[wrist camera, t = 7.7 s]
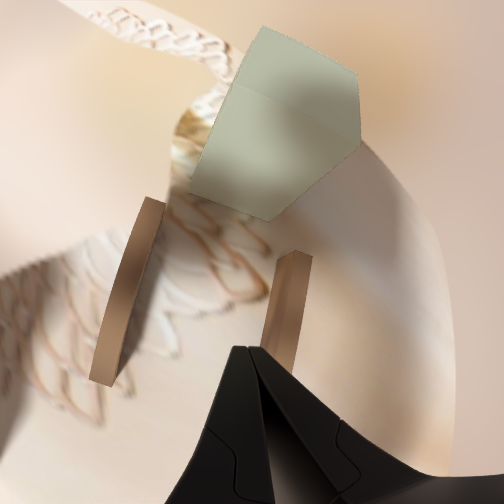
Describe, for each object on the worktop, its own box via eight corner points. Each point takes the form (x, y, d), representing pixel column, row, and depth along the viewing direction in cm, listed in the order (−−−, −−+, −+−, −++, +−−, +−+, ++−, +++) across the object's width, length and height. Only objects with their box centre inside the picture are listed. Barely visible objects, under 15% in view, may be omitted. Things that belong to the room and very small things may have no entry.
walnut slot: (263, 411, 17) (281, 421, 15) (95, 373, 14) (88, 379, 12) (292, 265, 20) (312, 256, 18) (143, 213, 18) (145, 196, 15)
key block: (268, 223, 21) (361, 145, 12) (186, 192, 19) (234, 83, 10) (296, 86, 26) (350, 17, 18) (241, 62, 25) (285, -17, 16)
